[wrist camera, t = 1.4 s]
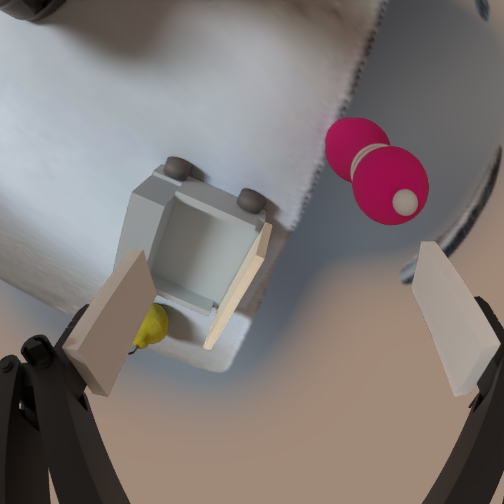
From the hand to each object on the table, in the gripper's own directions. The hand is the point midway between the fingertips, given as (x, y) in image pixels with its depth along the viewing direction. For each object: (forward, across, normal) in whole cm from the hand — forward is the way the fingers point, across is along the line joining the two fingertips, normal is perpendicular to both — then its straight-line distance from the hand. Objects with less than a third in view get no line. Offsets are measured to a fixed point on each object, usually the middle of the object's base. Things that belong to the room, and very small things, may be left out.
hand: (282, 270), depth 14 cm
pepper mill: (+26, +8, 0) cm, 27 cm away
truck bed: (+26, -13, -12) cm, 31 cm away
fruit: (+26, -23, -26) cm, 43 cm away
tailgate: (+23, -6, -16) cm, 28 cm away
